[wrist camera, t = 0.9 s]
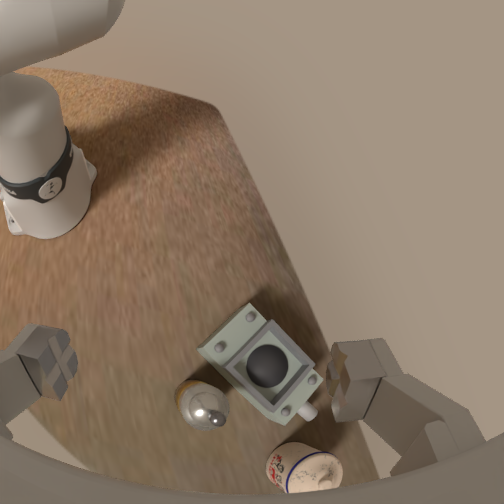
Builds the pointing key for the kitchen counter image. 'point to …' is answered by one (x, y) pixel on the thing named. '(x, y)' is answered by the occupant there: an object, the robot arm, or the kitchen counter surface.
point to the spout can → (201, 404)
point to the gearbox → (263, 365)
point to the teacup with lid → (303, 468)
